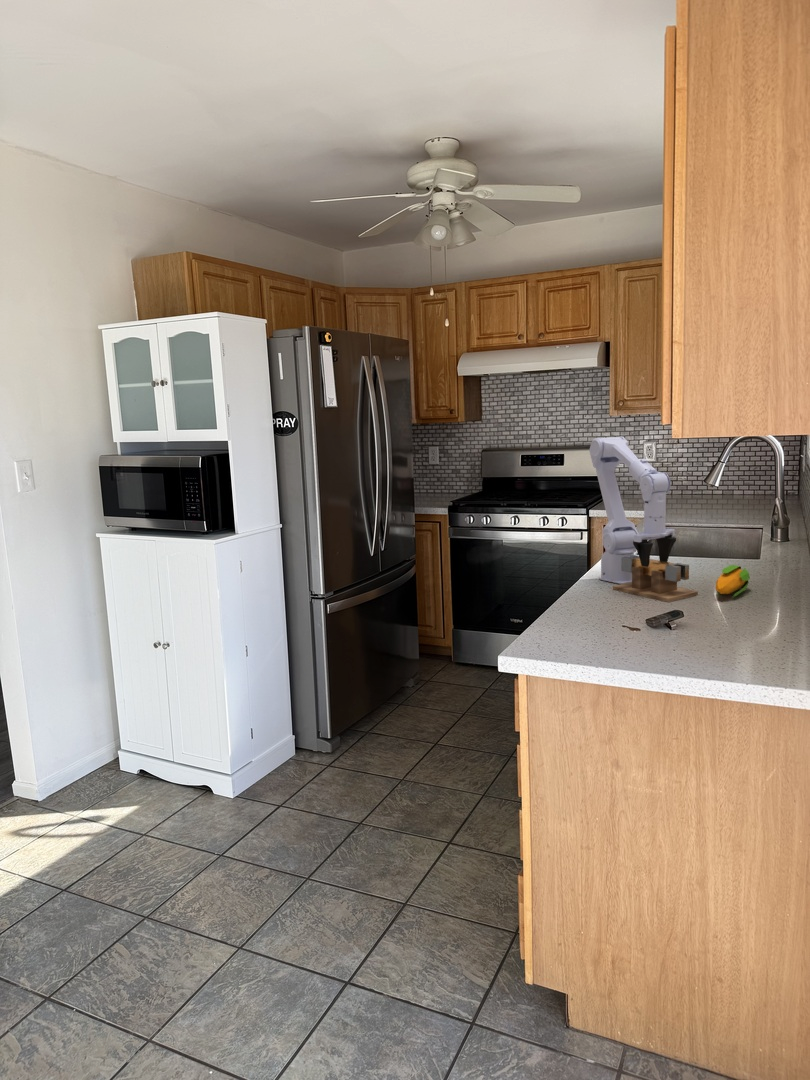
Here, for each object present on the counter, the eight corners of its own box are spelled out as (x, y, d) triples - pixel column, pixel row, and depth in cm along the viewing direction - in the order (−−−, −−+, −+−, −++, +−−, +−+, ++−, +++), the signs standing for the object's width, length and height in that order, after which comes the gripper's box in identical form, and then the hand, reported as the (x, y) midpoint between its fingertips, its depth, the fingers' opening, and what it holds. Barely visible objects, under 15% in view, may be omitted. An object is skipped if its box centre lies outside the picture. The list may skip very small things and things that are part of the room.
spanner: (621, 570, 223) (621, 557, 222) (633, 568, 225) (633, 555, 224) (676, 581, 206) (676, 567, 205) (688, 579, 209) (689, 564, 208)
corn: (753, 561, 215) (735, 575, 199) (754, 587, 216) (736, 603, 200) (725, 561, 220) (705, 574, 204) (727, 586, 220) (707, 602, 205)
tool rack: (612, 589, 222) (612, 565, 221) (641, 583, 228) (641, 560, 227) (668, 602, 205) (668, 576, 204) (697, 595, 211) (698, 570, 210)
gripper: (648, 520, 206) (647, 570, 208) (684, 514, 213) (683, 562, 215) (628, 518, 212) (627, 566, 214) (663, 512, 219) (663, 559, 221)
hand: (654, 564), depth 215 cm, fingers open, 7 cm apart
